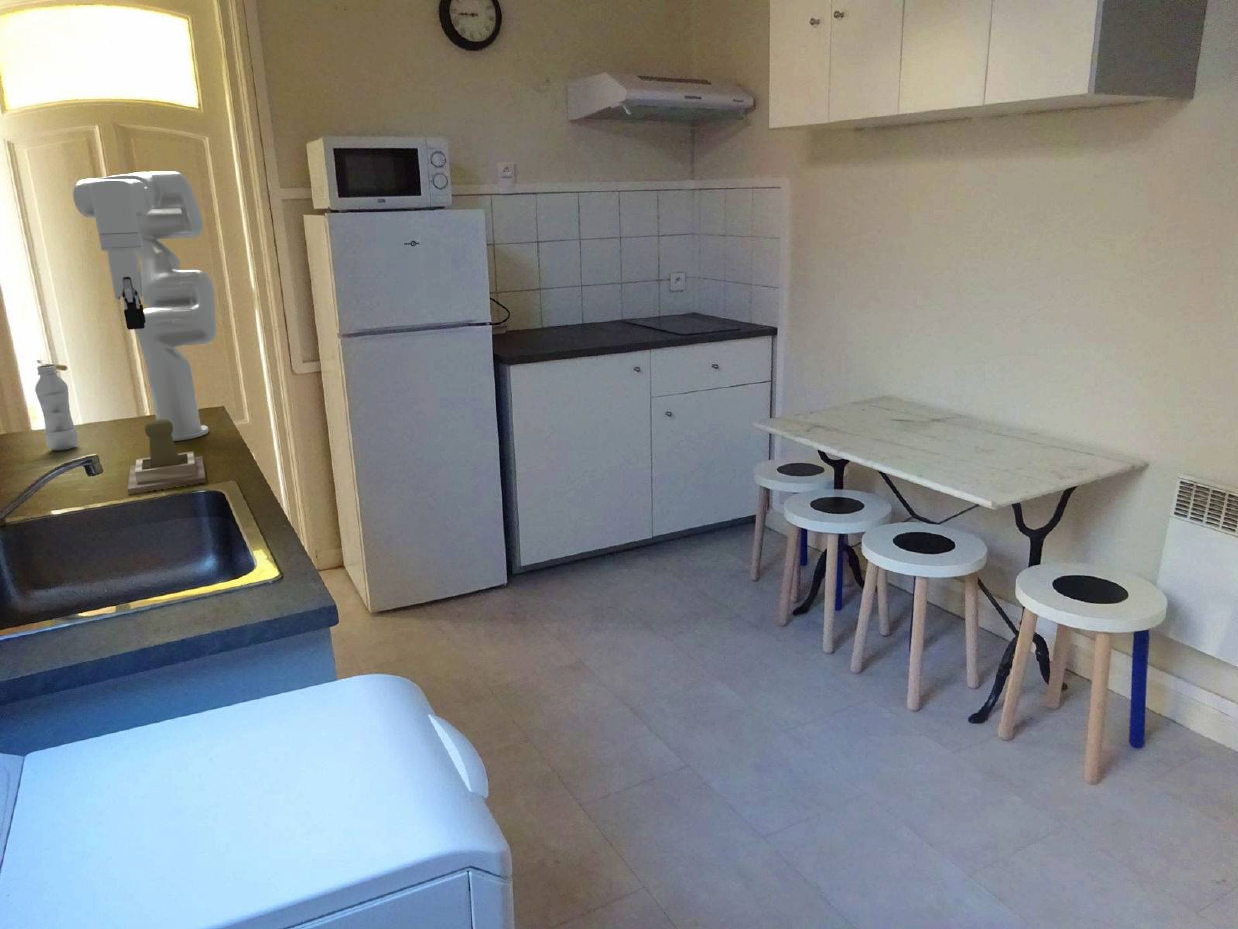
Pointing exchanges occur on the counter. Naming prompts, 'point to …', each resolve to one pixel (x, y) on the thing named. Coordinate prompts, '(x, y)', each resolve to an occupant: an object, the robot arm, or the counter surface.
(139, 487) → the socket board
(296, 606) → the counter surface
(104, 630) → the counter surface
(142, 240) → the robot arm
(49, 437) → the plastic bottle
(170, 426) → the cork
